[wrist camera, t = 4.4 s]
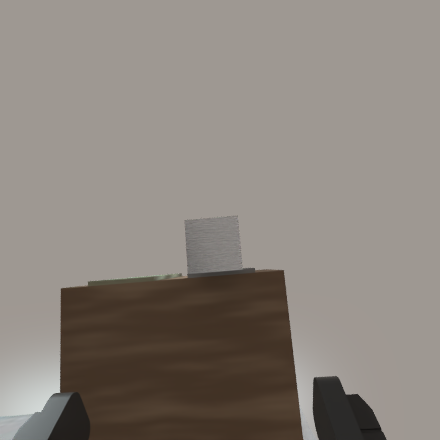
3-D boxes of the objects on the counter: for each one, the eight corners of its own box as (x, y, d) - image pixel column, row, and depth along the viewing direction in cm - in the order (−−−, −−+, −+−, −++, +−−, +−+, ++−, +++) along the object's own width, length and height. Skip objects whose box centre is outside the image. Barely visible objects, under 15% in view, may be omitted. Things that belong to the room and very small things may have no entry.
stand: (335, 723, 21) (283, 265, 26) (58, 731, 22) (60, 283, 27) (295, 542, 35) (266, 266, 40) (126, 550, 35) (119, 278, 41)
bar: (242, 269, 19) (237, 215, 19) (187, 274, 19) (184, 220, 20) (238, 268, 41) (235, 243, 41) (212, 270, 41) (210, 245, 41)
